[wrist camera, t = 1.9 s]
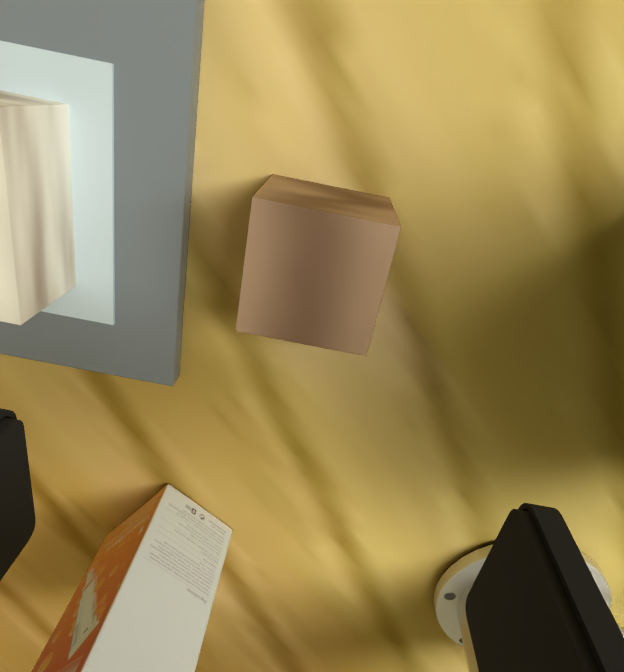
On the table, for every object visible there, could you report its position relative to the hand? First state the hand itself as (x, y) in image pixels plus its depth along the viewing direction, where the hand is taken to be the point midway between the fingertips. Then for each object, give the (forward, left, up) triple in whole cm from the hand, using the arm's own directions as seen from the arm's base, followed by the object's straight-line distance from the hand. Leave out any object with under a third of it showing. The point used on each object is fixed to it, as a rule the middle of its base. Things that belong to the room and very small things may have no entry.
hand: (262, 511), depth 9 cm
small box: (+7, +24, -19) cm, 31 cm away
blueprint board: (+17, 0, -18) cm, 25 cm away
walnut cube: (0, 0, -18) cm, 19 cm away
